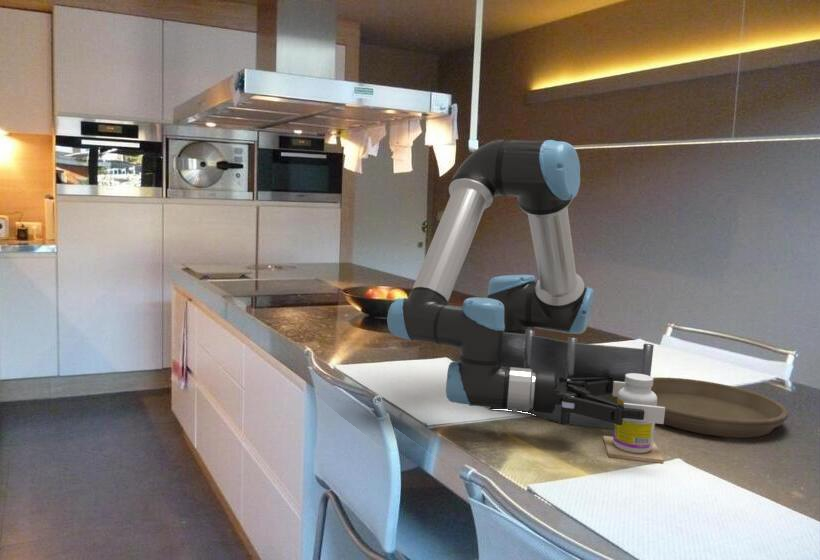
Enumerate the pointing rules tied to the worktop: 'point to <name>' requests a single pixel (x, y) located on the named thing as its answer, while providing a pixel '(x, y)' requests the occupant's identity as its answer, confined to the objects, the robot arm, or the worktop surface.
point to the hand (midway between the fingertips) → (656, 403)
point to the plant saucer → (716, 408)
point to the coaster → (618, 453)
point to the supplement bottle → (633, 432)
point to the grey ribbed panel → (573, 366)
